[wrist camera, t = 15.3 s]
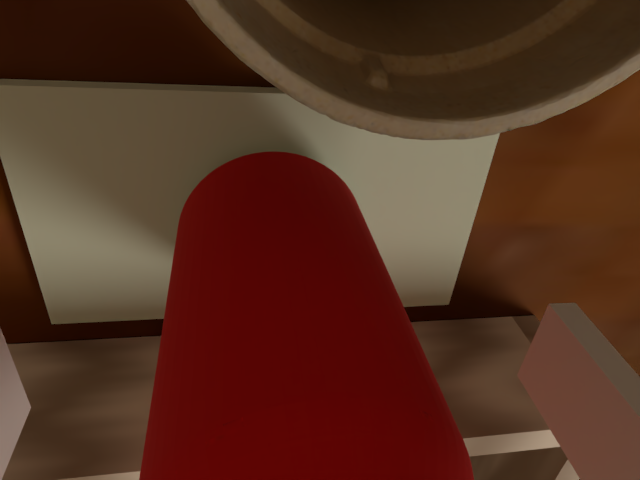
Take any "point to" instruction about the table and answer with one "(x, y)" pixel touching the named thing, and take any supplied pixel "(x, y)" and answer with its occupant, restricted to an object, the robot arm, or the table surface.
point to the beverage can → (290, 341)
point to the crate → (138, 380)
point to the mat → (193, 166)
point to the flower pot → (433, 58)
